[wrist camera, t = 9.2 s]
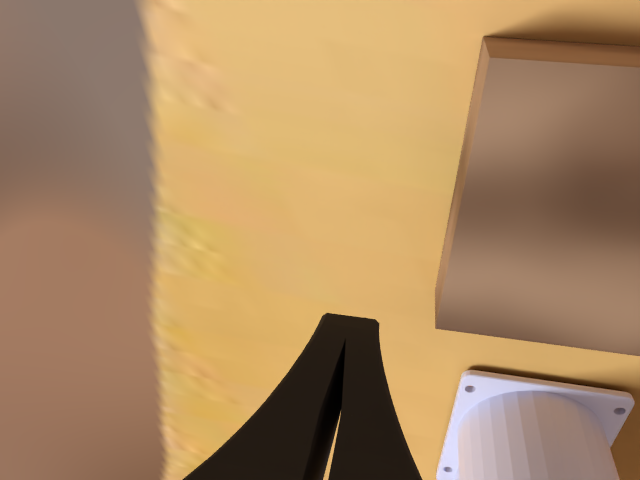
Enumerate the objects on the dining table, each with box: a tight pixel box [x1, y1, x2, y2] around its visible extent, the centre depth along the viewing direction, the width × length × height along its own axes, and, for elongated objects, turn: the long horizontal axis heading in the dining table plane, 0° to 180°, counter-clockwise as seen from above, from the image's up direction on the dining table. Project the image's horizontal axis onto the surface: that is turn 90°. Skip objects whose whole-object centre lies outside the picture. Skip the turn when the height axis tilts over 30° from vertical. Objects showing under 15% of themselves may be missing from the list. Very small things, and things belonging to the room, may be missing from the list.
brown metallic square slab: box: [435, 37, 640, 356], centre depth 19 cm, size 11×11×2 cm
